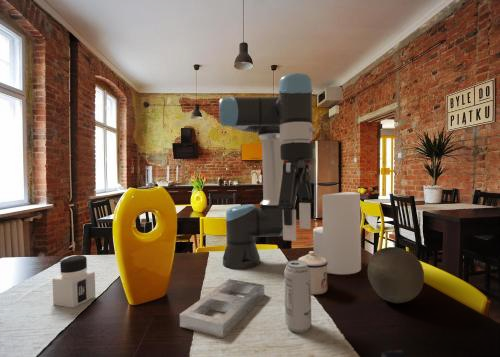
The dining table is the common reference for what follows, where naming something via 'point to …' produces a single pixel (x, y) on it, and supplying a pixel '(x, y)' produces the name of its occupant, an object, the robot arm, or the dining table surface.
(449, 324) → the dining table surface
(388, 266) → the cantaloupe
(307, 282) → the energy drink can
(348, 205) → the cylinder
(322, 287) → the teacup with lid
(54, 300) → the container
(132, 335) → the dining table surface
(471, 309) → the dining table surface
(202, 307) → the rail
